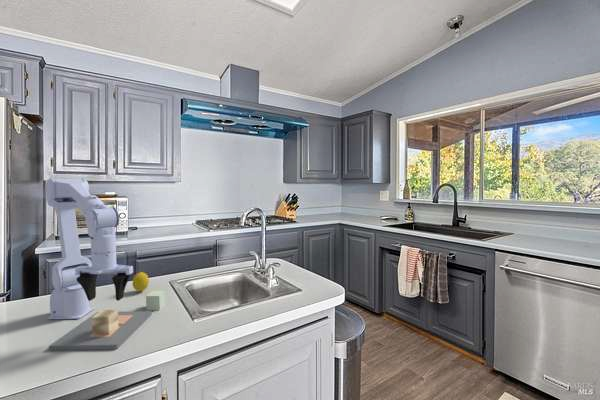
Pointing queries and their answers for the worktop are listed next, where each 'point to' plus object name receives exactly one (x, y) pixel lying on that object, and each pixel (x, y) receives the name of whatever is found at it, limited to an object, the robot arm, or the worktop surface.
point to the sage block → (155, 300)
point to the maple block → (105, 322)
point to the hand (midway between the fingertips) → (105, 299)
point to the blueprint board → (87, 341)
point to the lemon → (140, 281)
